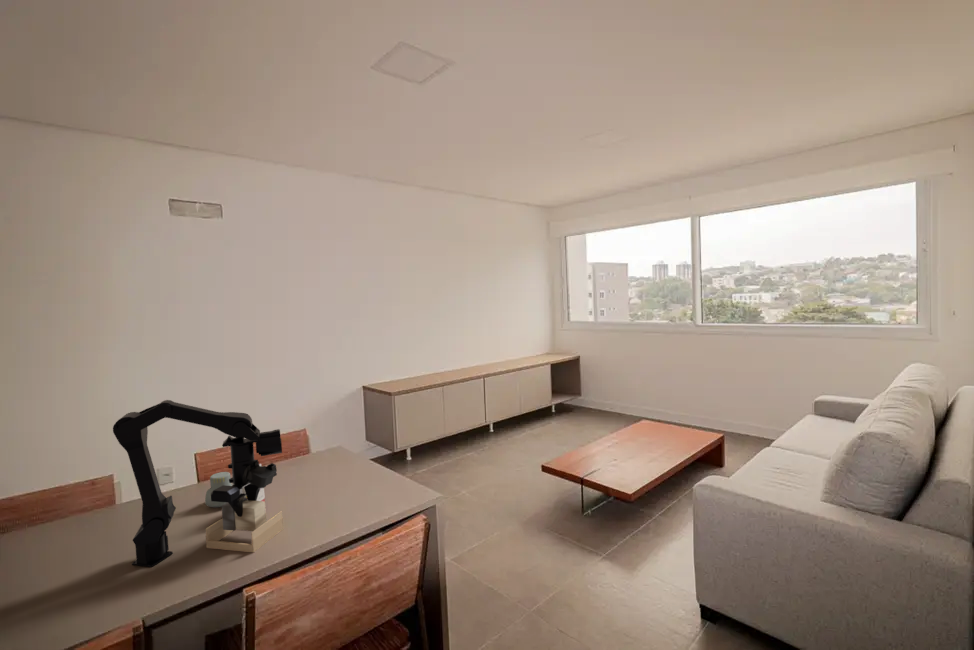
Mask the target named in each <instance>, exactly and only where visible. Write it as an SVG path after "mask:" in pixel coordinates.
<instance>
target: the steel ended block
mask: <svg viewBox="0 0 974 650" xmlns="http://www.w3.org/2000/svg"><path fill="white" fill-rule="evenodd" d="M266 508H267V507H266V500H265V501H251V500H247V498H246V497H244V498H243V514H242V516H241V517H238V516H237V514H236V513H235V511H234V510H233V508H232V507H231V506H230V504H229V503H228V502H227V503H225V504H223V505H222V507H221V515H222V518H223V530H233V532H234V531H236V530H237V531H248V532H253V531H254V530H256V529H257V528H258V527H260V526H261V525H262V524H264V523H265V522H266V521H267V510H266ZM222 518H221V519H222Z"/></svg>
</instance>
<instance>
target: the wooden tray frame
mask: <svg viewBox="0 0 974 650" xmlns="http://www.w3.org/2000/svg"><path fill="white" fill-rule="evenodd" d="M284 529H285V528H284V517H283V510H280V511H279V512H278V513H276V514H275V515H274V516H273V517H271V518H269V519H268V520H266V522H265V523H264V524H262V525H261V526H260V527H258V528H257V529H256V530H254V531H250V535H251V541H250V542H251V543H244V542H232V541H223V538H225V537H227V536H228V535H230V534H232V532H234V531H233V530H223V518H220V519H219V520H217V521H216V522H214V523H212V524H211V525H210V526H208V527H206V528H205V542H206V543H205V545H206V549H215V550H225V551H235V552H245V553H255V552H257V551H258V550H259V549H260V548H262V547H263V546H265V544H267V542H270V540H272V539H273V538H274V537H276V535H278V534H279V533H280V532H282V531H283V530H284Z"/></svg>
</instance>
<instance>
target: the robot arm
mask: <svg viewBox="0 0 974 650" xmlns="http://www.w3.org/2000/svg"><path fill="white" fill-rule="evenodd" d="M166 418H167V419H171V420H177V421H180V422H186V423H189V424H196V425H199V426H204V427H209V428H213V429H215V430H218V431H219V432H222V433H223V434H225V435H228V436H227V438H225V440H223V442H222V448H225V447H230V459H231V460H230V461H231V462H230V464H228V465H227V468H228V469H231V474H232V475H231V476H232V477H230V479H229V483H231V484H232V483H233V484H234V485H232V486H226V485H223V486H221V487H219V488H217V489H215V490H213V491H212V493H211V501H214V502H228V503H229V504H230V506H231V507H232V508H233V510H234V511H235V513H236V514H237V516H238V517H241V516H242V514H243V498H244V497H245V496H247V500H251V501H257V497H258V493H259V491H260V488H264V489H265V488H266V487H267V486H269V485H271V484H272V483H273V480H274V477H276V476H277V475H278V473H277V465H276V464H275V463H273V462H271V463H269V464H268V465H261V466H259V464H260V461H259V459H255V453H256V454H258V455H259V456H261V457H265V456H270V455H271V456H272V455H279V454H282V453H283V445H282V438H281V429H279V428H278V429H274V430H269V431H262V432H261V430H260V429H259V428H258V427H257V426H256V425H255V424H254V423H253V419H252V417H251V416H250V415H249V414H248V413H245V412H237V411H236V412H235V411H233V412H232V411H228V412H227V411H225V412H222V411H215V410H210V409H206V408H203V407H198V406H197V407H196V406H193V405H188V404H184V403H179V402H175V401H173V400H170V399H166V400H165V399H164V400H163V401H160V403H157V404H155V405H153V406H150V407H147V408H145V409H143V410H140V411H131V412H128V413H126V414H125V415H123V416H122V417H120V418H119V419H117V421H115V423H114V424H113V425H112V433H113V435H114V436H115V438H116V440H117V442H118V444H119V445H120V446H121V447H122V448H123V449H124V450H125V451H126V453H127V455H128V459H129V462H130V466H131V469H132V472H133V475H134V478H135V482H136V484H137V488H138V492H139V494H140V495H139V496H140V498H141V501H142V502H141V503H142V506H141V507H142V510H141V511H142V512H141V525H140V526H139V528H138V529H137V532H136V534H135V535H134V537H133V538H132V542H133V544H134V546H135V556H136V557H135V558H136V559H135V560H134V561H132V562H131V565H132V566H140V567H148V568H152V567H154V566H155V565H157V564H159V563H160V562H162V561H163V560H165V559H167V558H168V557H170V556H171V555H172V554H173V550H172V551H171V550H169V538H168V535H167V531H166V530H167V529H168V528H169V526H170V524H171V522H172V520H173V518H174V515H175V511H176V509H177V508H176V506H175V505H174V503H173V495H170V496H167V497H166V496H165V495H164V494H163V492H162V489H161V487H160V483H159V479H158V478H157V477H158V476H157V473H156V470H155V468H154V467H155V466H154V463H153V460H152V456H151V453H150V450H149V447H148V432H149V429H148V427H150V426H151V425H153V424H155V423H157V422H159V421H161V420H162V419H166ZM254 444H255V449H254ZM254 451H255V452H254ZM243 487H244V489H245V492H246V494H243V493H242V489H243Z"/></svg>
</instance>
